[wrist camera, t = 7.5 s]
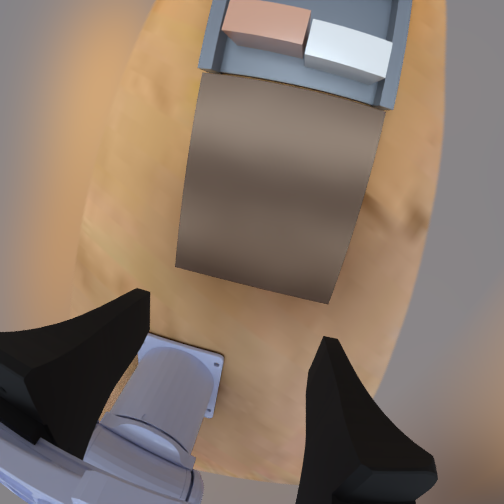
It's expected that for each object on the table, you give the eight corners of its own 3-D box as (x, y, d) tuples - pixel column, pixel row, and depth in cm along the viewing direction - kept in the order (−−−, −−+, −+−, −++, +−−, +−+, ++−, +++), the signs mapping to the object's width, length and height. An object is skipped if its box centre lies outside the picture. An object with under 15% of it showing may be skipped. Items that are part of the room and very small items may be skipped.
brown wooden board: (326, 281, 23) (328, 304, 20) (190, 248, 23) (175, 266, 21) (374, 112, 18) (385, 111, 15) (216, 78, 18) (202, 72, 15)
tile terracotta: (302, 44, 13) (311, 10, 12) (221, 29, 13) (231, -4, 12) (302, 59, 16) (310, 30, 16) (237, 45, 17) (245, 17, 16)
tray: (382, 110, 17) (400, 109, 14) (210, 72, 18) (188, 64, 14) (403, -3, 14) (421, -24, 10) (235, -37, 14) (221, -64, 11)
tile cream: (385, 78, 13) (392, 42, 12) (304, 53, 13) (313, 18, 12) (369, 85, 16) (375, 56, 16) (304, 66, 17) (311, 37, 16)
